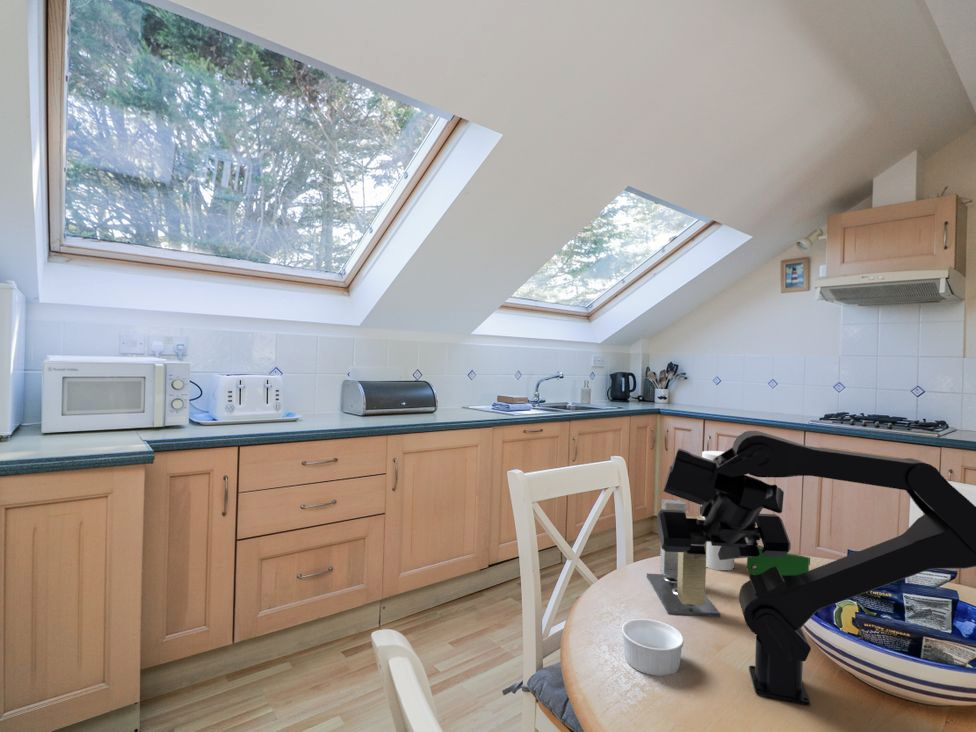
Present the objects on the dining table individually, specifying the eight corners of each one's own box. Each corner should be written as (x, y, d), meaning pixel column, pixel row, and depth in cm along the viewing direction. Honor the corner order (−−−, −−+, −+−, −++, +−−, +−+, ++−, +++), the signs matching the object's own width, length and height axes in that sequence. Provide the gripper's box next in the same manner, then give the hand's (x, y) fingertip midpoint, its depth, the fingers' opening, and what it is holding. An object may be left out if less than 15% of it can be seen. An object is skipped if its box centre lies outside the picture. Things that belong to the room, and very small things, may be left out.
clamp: (797, 599, 110) (819, 562, 109) (794, 602, 105) (817, 564, 104) (742, 563, 117) (762, 528, 117) (737, 564, 112) (758, 528, 112)
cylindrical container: (702, 568, 114) (705, 455, 114) (697, 556, 121) (699, 450, 121) (737, 572, 112) (740, 457, 112) (730, 560, 119) (732, 451, 119)
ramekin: (683, 653, 80) (684, 625, 80) (682, 686, 72) (682, 654, 72) (625, 640, 83) (625, 613, 83) (616, 670, 75) (617, 640, 75)
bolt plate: (720, 616, 92) (722, 523, 92) (668, 613, 92) (670, 521, 92) (690, 578, 108) (692, 499, 108) (646, 576, 109) (648, 497, 109)
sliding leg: (704, 609, 92) (707, 521, 92) (681, 607, 93) (684, 520, 93) (699, 601, 95) (701, 516, 95) (677, 600, 96) (679, 515, 96)
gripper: (783, 464, 80) (750, 515, 92) (660, 460, 82) (643, 510, 93) (809, 531, 73) (770, 577, 84) (673, 525, 74) (653, 571, 85)
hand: (707, 556), depth 86 cm, fingers open, 4 cm apart
